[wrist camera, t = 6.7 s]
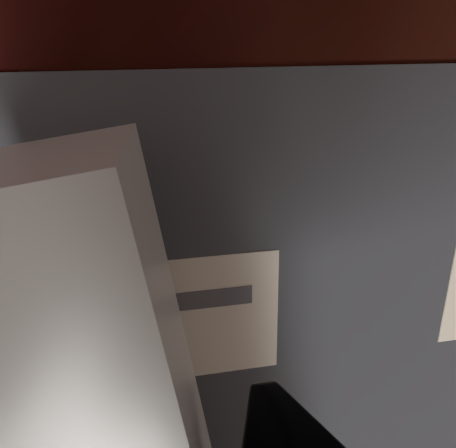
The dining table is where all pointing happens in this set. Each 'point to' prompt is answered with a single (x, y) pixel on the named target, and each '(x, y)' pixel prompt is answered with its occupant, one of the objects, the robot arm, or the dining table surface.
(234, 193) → the label mat
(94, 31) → the dining table surface
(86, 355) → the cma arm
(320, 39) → the dining table surface
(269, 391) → the robot arm
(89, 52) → the dining table surface
